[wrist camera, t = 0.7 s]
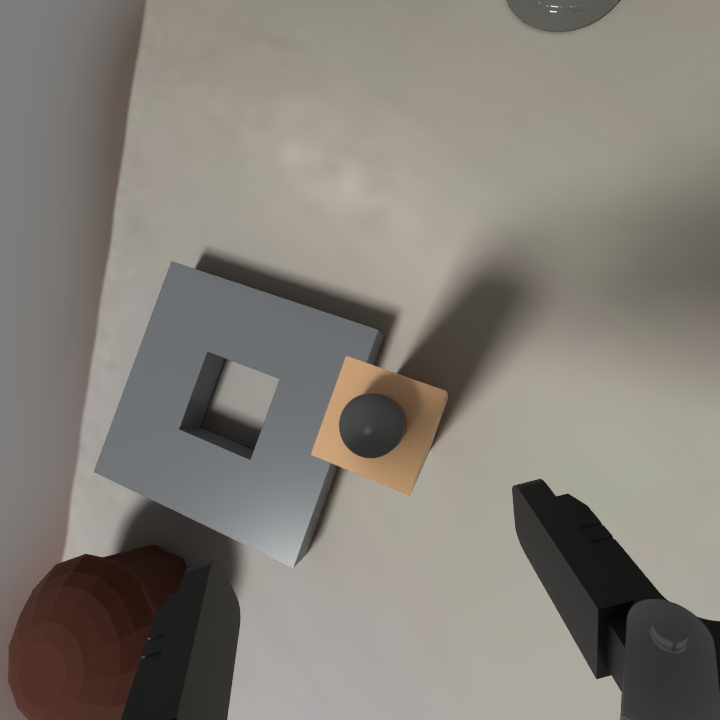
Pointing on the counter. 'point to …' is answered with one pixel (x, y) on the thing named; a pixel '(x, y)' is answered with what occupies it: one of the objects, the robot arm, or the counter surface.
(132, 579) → the muffin
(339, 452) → the plug
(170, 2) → the counter surface
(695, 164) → the counter surface
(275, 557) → the socket
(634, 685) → the robot arm
